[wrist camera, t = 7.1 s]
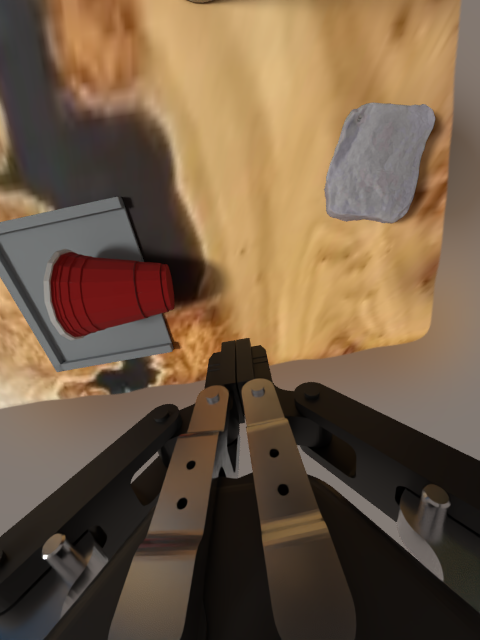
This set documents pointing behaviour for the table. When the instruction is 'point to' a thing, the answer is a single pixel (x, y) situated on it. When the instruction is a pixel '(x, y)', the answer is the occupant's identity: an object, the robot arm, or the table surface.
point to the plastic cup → (103, 292)
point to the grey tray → (89, 240)
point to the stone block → (377, 162)
